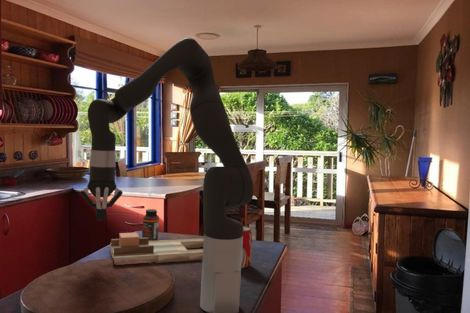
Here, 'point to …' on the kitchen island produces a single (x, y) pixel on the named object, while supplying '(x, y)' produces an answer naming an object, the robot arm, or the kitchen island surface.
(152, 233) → the supplement bottle
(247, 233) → the soda can
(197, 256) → the wooden fixture board
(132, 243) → the block
